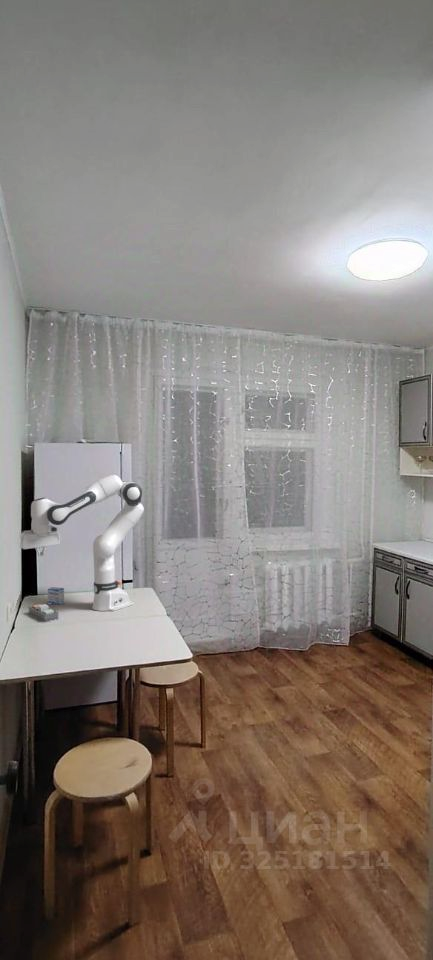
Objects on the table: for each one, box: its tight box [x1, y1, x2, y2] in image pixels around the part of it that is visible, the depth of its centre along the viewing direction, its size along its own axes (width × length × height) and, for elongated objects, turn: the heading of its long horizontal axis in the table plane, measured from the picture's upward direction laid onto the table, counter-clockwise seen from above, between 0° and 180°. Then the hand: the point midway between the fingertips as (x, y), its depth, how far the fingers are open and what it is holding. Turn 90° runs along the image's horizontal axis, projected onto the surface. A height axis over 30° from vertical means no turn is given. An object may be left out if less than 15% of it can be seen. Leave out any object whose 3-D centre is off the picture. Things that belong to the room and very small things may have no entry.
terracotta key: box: [32, 603, 41, 609], centre depth 262 cm, size 4×4×3 cm
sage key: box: [43, 608, 54, 615], centre depth 252 cm, size 4×4×3 cm
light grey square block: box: [38, 603, 50, 612], centre depth 257 cm, size 4×4×3 cm
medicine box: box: [47, 586, 65, 605], centre depth 280 cm, size 8×4×9 cm, turn 73°
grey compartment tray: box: [28, 603, 59, 623], centre depth 257 cm, size 7×20×4 cm, turn 42°
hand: (41, 555), depth 259 cm, fingers closed
